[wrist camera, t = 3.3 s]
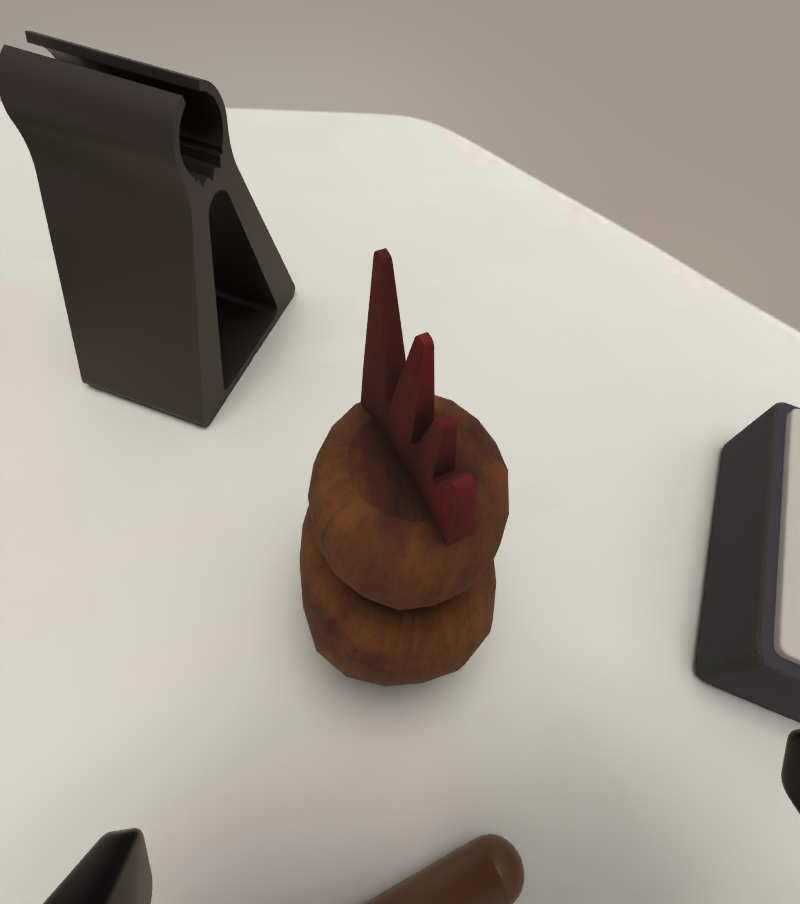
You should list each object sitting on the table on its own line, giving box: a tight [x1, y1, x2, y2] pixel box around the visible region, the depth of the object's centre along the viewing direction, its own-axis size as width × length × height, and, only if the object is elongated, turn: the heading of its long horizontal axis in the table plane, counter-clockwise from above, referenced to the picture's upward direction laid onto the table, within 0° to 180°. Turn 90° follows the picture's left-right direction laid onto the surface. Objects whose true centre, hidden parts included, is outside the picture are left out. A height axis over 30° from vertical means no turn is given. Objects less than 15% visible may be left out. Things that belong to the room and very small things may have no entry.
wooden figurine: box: [300, 248, 509, 686], centre depth 15 cm, size 7×6×15 cm
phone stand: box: [0, 31, 295, 427], centre depth 22 cm, size 9×6×12 cm, turn 160°
